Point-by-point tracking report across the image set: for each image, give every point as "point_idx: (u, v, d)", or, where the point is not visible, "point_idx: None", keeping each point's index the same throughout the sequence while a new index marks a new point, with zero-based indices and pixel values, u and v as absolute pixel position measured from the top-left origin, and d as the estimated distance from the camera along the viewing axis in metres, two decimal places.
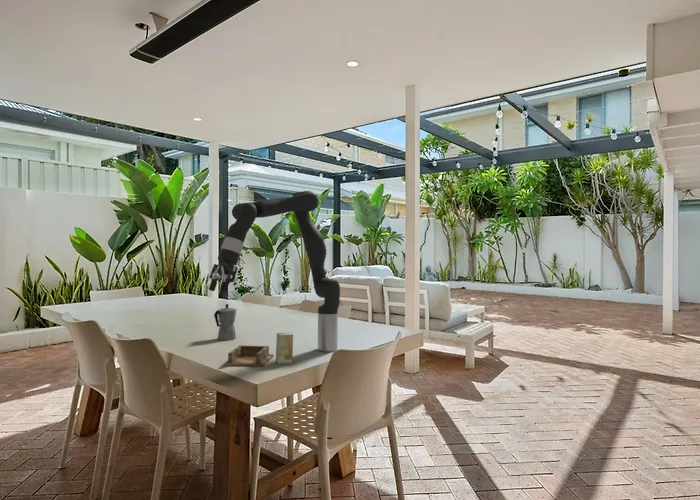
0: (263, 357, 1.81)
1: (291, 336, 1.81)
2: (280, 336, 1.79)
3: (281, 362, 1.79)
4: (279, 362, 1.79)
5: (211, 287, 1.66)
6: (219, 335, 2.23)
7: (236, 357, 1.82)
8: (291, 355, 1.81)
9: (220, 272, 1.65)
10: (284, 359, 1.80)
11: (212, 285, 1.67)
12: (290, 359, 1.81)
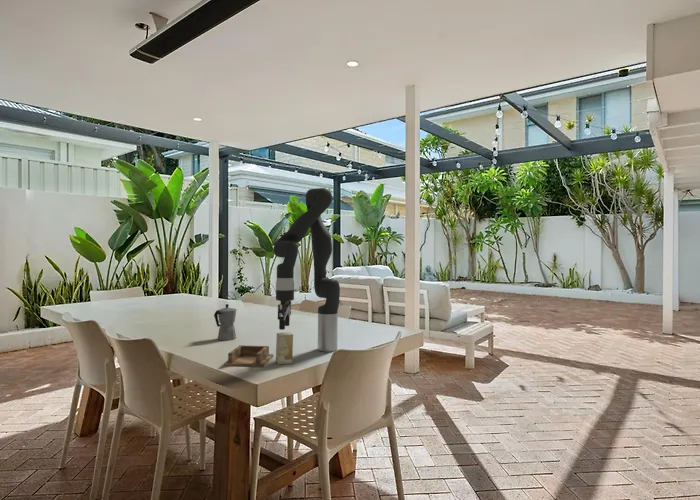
0: (263, 357, 1.81)
1: (291, 336, 1.81)
2: (280, 336, 1.79)
3: (281, 362, 1.79)
4: (279, 362, 1.79)
5: (285, 323, 1.86)
6: (219, 335, 2.23)
7: (236, 357, 1.82)
8: (291, 355, 1.81)
9: None
10: (284, 359, 1.80)
11: (285, 321, 1.85)
12: (290, 359, 1.81)
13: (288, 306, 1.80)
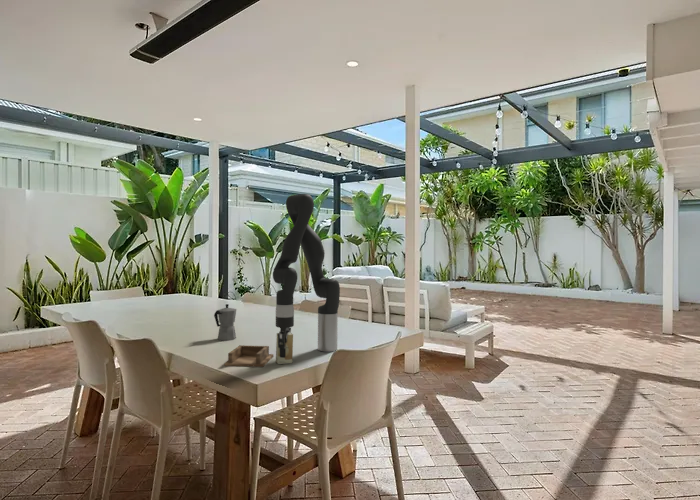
0: (263, 357, 1.81)
1: (291, 336, 1.81)
2: None
3: (281, 362, 1.79)
4: (279, 362, 1.79)
5: None
6: (219, 335, 2.23)
7: (236, 357, 1.82)
8: (291, 355, 1.81)
9: None
10: (284, 359, 1.80)
11: None
12: (290, 359, 1.81)
13: (288, 333, 1.80)
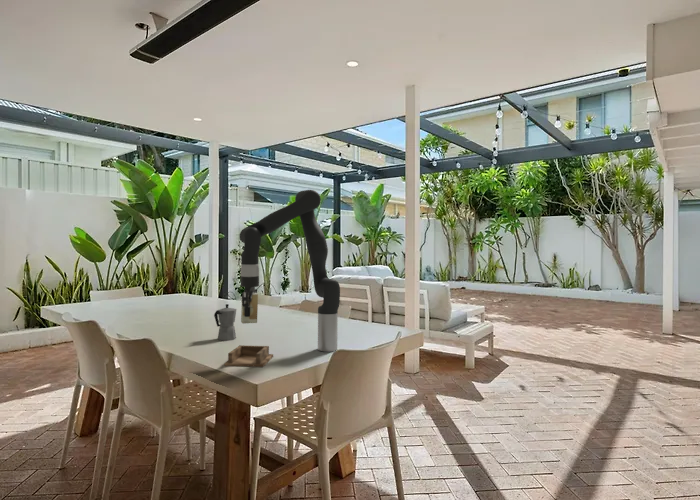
0: (263, 357, 1.81)
1: (255, 296, 1.81)
2: None
3: (245, 321, 1.80)
4: (243, 321, 1.80)
5: None
6: (219, 335, 2.23)
7: (236, 357, 1.82)
8: (256, 315, 1.82)
9: None
10: (249, 319, 1.80)
11: None
12: (254, 319, 1.81)
13: (253, 293, 1.81)
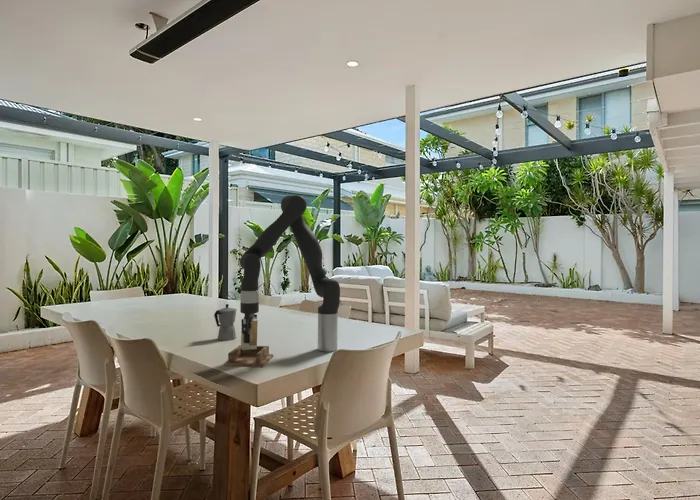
0: (263, 357, 1.81)
1: (255, 322, 1.82)
2: None
3: (245, 348, 1.80)
4: (243, 348, 1.80)
5: None
6: (219, 335, 2.23)
7: (236, 357, 1.82)
8: (255, 341, 1.82)
9: None
10: (249, 345, 1.81)
11: None
12: (254, 345, 1.82)
13: (252, 319, 1.81)
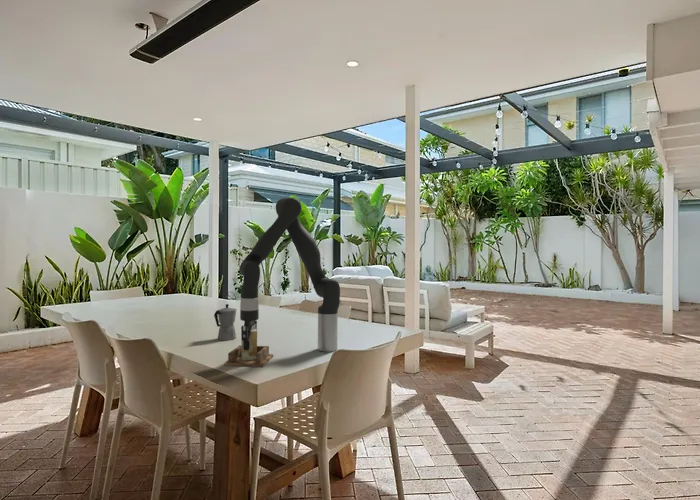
0: (263, 357, 1.81)
1: (255, 333, 1.81)
2: None
3: (245, 358, 1.80)
4: (243, 358, 1.80)
5: None
6: (219, 335, 2.23)
7: (236, 357, 1.82)
8: (255, 352, 1.82)
9: None
10: (248, 355, 1.81)
11: None
12: (254, 356, 1.82)
13: (252, 326, 1.81)
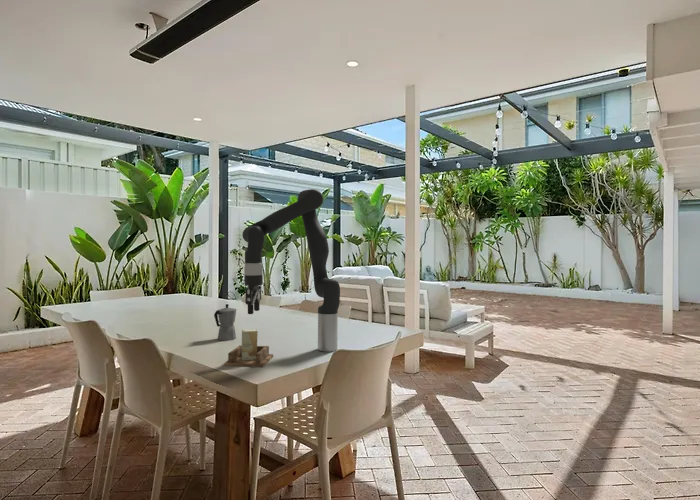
0: (263, 357, 1.81)
1: (255, 333, 1.82)
2: (244, 333, 1.80)
3: (245, 358, 1.80)
4: (243, 358, 1.80)
5: (255, 308, 1.87)
6: (219, 335, 2.23)
7: (236, 357, 1.82)
8: (255, 352, 1.82)
9: None
10: (248, 356, 1.81)
11: (255, 306, 1.87)
12: (254, 356, 1.82)
13: (256, 291, 1.81)
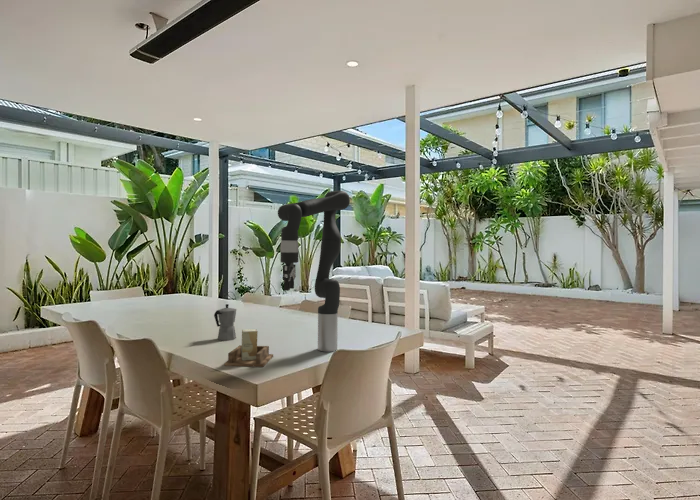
0: (263, 357, 1.81)
1: (255, 333, 1.82)
2: (244, 333, 1.80)
3: (245, 358, 1.80)
4: (243, 358, 1.80)
5: (290, 286, 1.89)
6: (219, 335, 2.23)
7: (236, 357, 1.82)
8: (255, 352, 1.82)
9: None
10: (248, 356, 1.81)
11: (290, 284, 1.89)
12: (254, 356, 1.82)
13: (293, 268, 1.83)
